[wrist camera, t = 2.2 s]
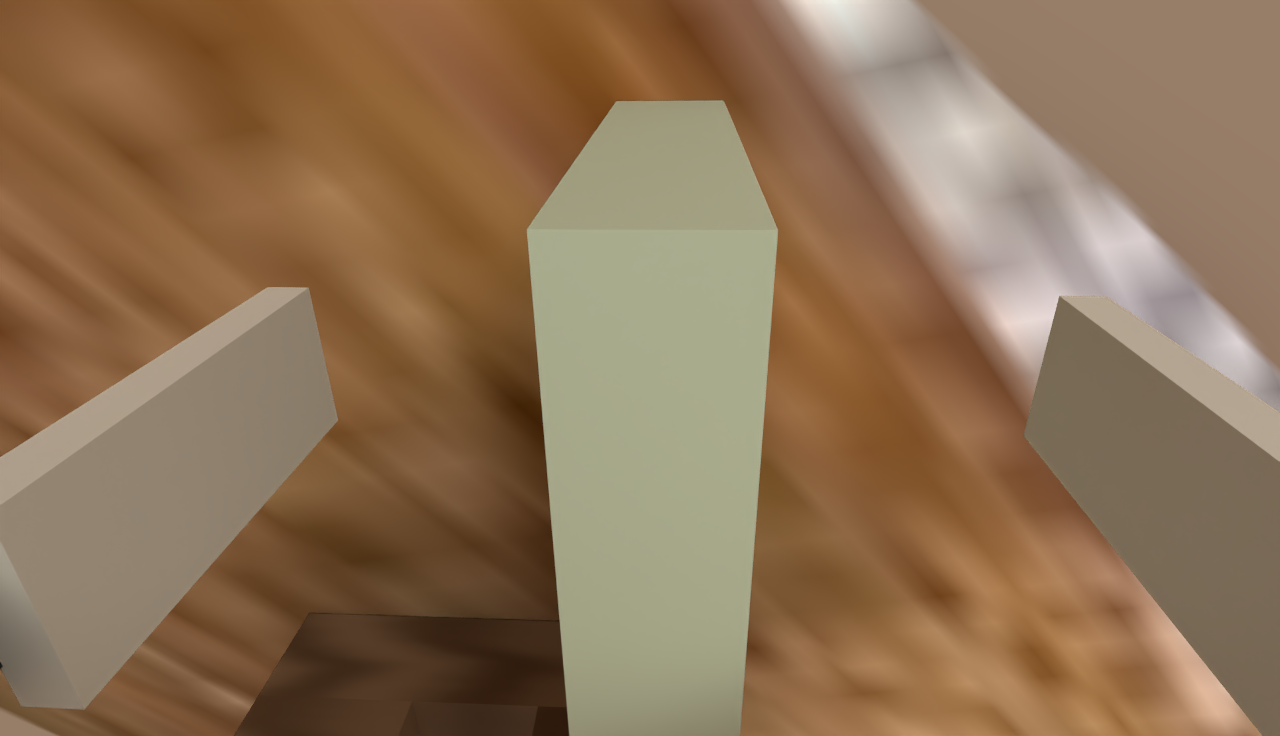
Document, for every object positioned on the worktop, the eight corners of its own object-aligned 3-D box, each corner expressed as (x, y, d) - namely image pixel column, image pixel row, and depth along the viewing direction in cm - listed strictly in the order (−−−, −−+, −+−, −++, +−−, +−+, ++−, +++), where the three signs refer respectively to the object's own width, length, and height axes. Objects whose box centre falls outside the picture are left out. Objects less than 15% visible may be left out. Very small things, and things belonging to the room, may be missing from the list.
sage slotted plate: (706, 549, 27) (723, 950, 16) (627, 546, 27) (586, 942, 16) (723, 100, 20) (778, 230, 9) (616, 101, 20) (527, 229, 9)
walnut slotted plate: (321, 656, 31) (214, 850, 24) (309, 613, 30) (192, 803, 23) (694, 669, 30) (698, 874, 23) (696, 625, 29) (700, 827, 22)
